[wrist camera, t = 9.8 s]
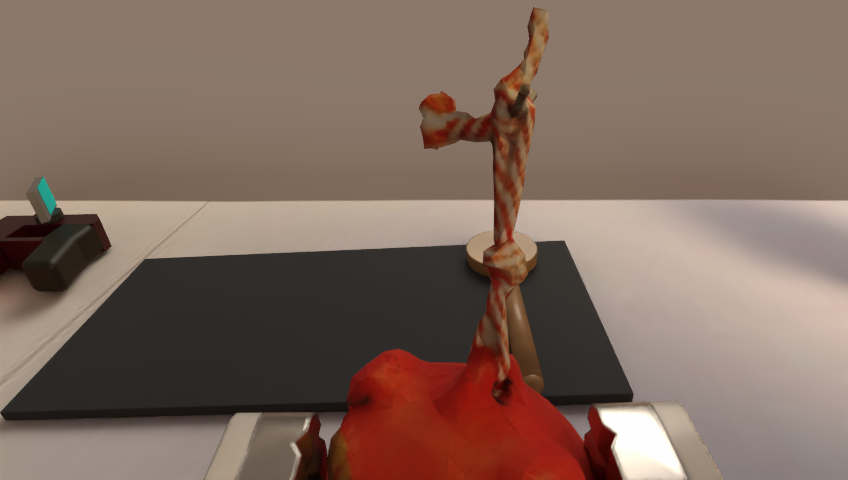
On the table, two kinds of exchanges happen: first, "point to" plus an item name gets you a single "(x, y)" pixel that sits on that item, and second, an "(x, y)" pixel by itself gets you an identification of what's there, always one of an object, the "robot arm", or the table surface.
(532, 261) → the spoon
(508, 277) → the red clay folk toy
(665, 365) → the table surface
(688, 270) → the table surface
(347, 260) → the placemat
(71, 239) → the toy gun
